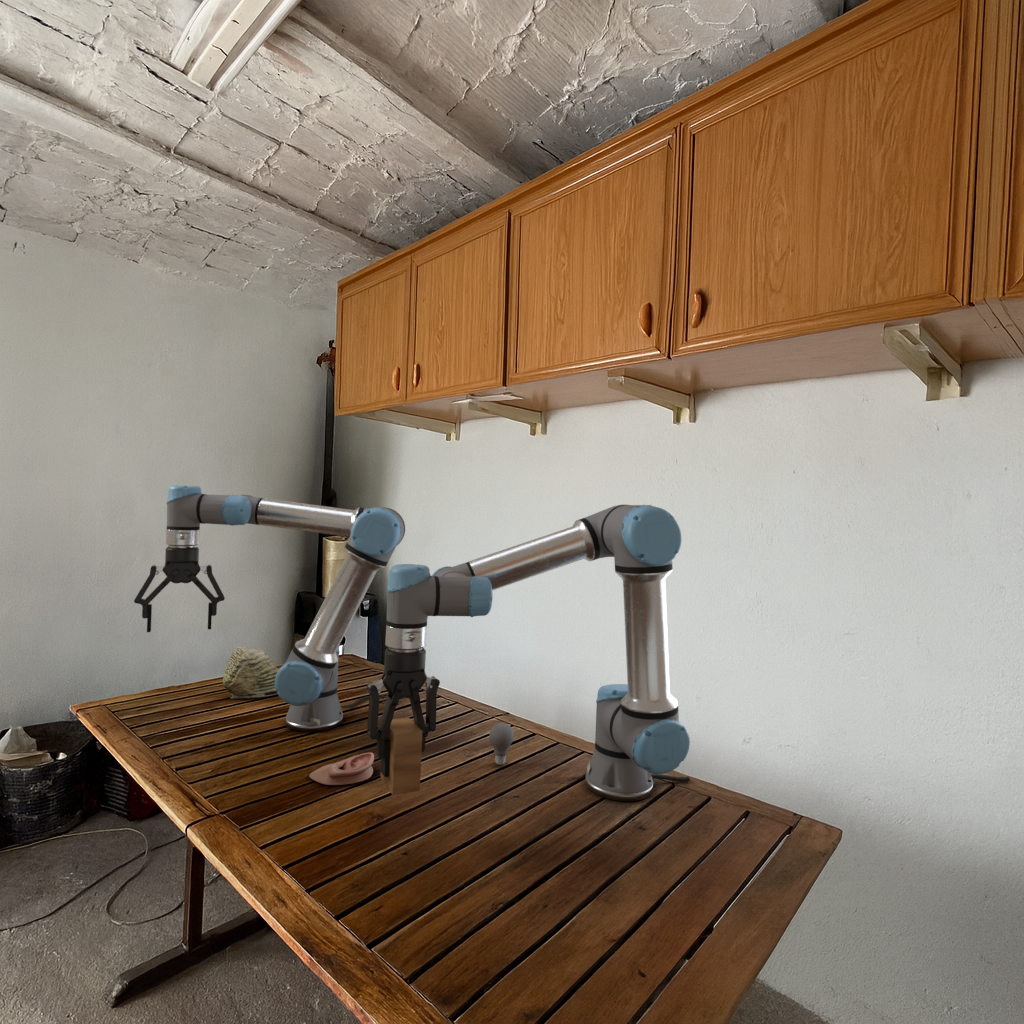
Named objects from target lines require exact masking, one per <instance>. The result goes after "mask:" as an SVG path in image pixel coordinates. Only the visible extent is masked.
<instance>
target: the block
mask: <svg viewBox="0 0 1024 1024" xmlns="http://www.w3.org/2000/svg"><path fill="white" fill-rule="evenodd" d="M387 738H388V739H389V740H390V760H389V777H384V776H383V774H382V773H381V772H380V779H381V781H382V782H383V783H384V785H385V786H386V788H387V789H388V791H389V793H390V794H391V795H392V796H397V795H402V794H407V793H408V794H409V793H413V792H419V791H421V772H422V753H423V752H422V730H421V729H420V728H419V727H418V726H417V725H416V724H415V721H414V720H412V719H411V718H410V717H399V718H392V722H391V725H390V728H389V732H388V735H387Z"/></svg>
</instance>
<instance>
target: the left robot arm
mask: <svg viewBox="0 0 1024 1024" xmlns="http://www.w3.org/2000/svg"><path fill="white" fill-rule="evenodd" d="M201 524H202V525H205V524H206V525H208V524H209V525H222V526H225V525H226V526H227V525H228V526H233V527H234V526H245V525H246V524H248V525H255V526H265V527H273V528H279V529H287V530H294V531H301V532H308V533H309V532H310V533H317V534H324V535H332V536H340V537H345V538H348V540H347V541H346V543H345V545H344V552H345V554H346V557H345V558H344V560H343V562H342V564H341V566H340V568H339V570H338V571H337V574H336V576H335V578H334V580H333V582H332V584H331V586H330V588H329V590H328V592H327V594H326V596H325V598H324V600H323V602H322V604H321V605H320V608H319V610H318V612H317V614H316V615H315V617H314V619H313V621H312V623H311V625H310V627H309V629H308V631H307V633H306V634H305V637H304V638H303V639H300V640H296V642H295V643H294V645H293V647H292V649H291V651H290V652H289V655H288V657H287V659H286V661H285V663H284V664H282V665H281V666H280V667H279V668H278V669H279V670H278V672H277V675H276V677H275V689H276V691H277V693H278V694H277V695H278V697H279V698H280V699H281V700H282V701H283V702H285V703H286V704H289V708H288V711H287V713H286V715H285V726H286V728H287V729H289V730H291V731H294V732H295V731H296V732H301V733H316V732H325V731H329V730H332V729H335V728H337V727H339V726H340V725H342V723H343V722H344V713H343V709H349V708H352V707H354V706H356V705H357V704H359V702H362V701H364V700H367V699H368V700H369V696H370V695H367V696H363V697H361V698H359V699H357V700H355V702H353V703H351V704H345V705H341V702H340V699H339V695H338V682H339V681H338V680H339V678H338V677H339V660H340V659H339V657H340V645H341V642H342V641H343V638H344V637H345V634H346V633H347V630H348V629H349V627H350V625H351V623H352V621H353V619H354V617H355V615H356V613H357V611H358V609H359V608H360V606H361V604H362V602H363V599H364V598H365V595H366V593H367V591H368V590H369V588H370V586H371V584H372V582H373V580H374V578H375V576H376V574H377V572H378V571H379V570H381V569H385V568H386V567H387V565H388V563H389V562H390V559H391V558H392V555H394V552H395V549H396V548H397V547H398V545H399V544H400V543H401V542H402V541H403V539H404V537H405V534H406V523H405V520H404V518H403V516H402V515H401V514H400V513H398V511H397V510H395V509H392V508H389V507H384V506H383V507H380V506H379V507H378V506H377V507H362V506H361V507H360V506H359V507H357V508H356V509H348V508H341V507H336V506H335V507H333V506H326V505H319V504H311V503H304V502H297V501H289V500H283V499H274V498H268V497H259V496H253V495H250V494H239V495H238V494H207V493H202V488H201V487H200V486H197V485H180V484H179V485H175V484H173V485H170V486H169V487H168V490H167V499H166V530H165V534H166V535H165V545H167V547H165V557H164V565H163V566H161V565H160V566H159V565H156V564H152V565H151V567H150V569H149V575H148V576H147V578H146V580H145V582H144V583H143V585H142V586H141V588H140V589H139V591H138V593H137V595H136V596H135V598H134V600H133V602H134V604H137V605H140V606H141V610H142V611H141V617H142V619H147V620H146V622H147V623H146V633H151V632H152V616H153V615H152V613H153V612H152V611H153V604H152V603H151V602H152V601H153V600H154V599H155V598H156V597H157V596H158V595H159V593H161V592H162V591H163V590H164V589H165V588H166V587H167V586H168V585H169V584H170V583H172V584H189V583H191V582H192V583H193V584H194V585H195V586H196V587H197V588H198V589H199V590H200V591H201V593H202V594H204V596H205V597H206V598H207V599H208V600H209V602H208V604H207V605H208V609H207V630H212V617H216V616H217V610H218V603H220V602H223V601H225V599H226V597H225V595H224V592H223V591H222V589H221V587H220V585H219V584H218V582H217V580H216V578H215V576H214V574H213V567H212V565H211V564H207V565H201V566H200V563H199V559H200V548H199V547H197V546H198V545H200V535H201V532H200V531H201V529H200V528H201ZM160 572H162V573H163V574H164V575H165V576H166V577H165V578H164V579H163V580H162V581H161V582H160V583H159V584H158V586H156V587H155V588H154V589H153V591H151V592H150V594H148V596H146V597H145V598H144V595H145V594H146V592H147V591H148V589H149V587H150V586H151V584H152V582H153V581H154V579H155V576H157V575H160ZM200 572H202V573H203V574H204V575H207V578H208V580H209V582H210V583H211V585H212V588H213V589H214V592H215V594H216V595H217V596H215V595H214V594H213V593H212V592H211V591H210V590H209V589H208V588H207V587H206V586H205V585H204V583H203V582H202V581H201V580H200V578H198V577H197V575H198V574H199V573H200ZM387 694H388V693H383V694H379V698H383V697H384V698H385V697H387Z"/></svg>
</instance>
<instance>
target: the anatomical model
mask: <svg viewBox="0 0 1024 1024" xmlns="http://www.w3.org/2000/svg"><path fill="white" fill-rule="evenodd" d="M374 761H375V754H374V753H373V752H370V751H369V752H365V753H360V754H357V755H353V756H351V757H347V758H345V759H343V760H340V761H337V762H334V763H329V764H326V765H323V766H321V767H319V768H317V769H315V770H313V771H312V772H311V773H310V774H309V775H308V776H309V778H310V779H311V780H313V781H315V782H317V783H319V784H321V785H325V786H339V785H340V786H341V785H350V784H351V785H352V784H357V783H359V782H363V781H365V780H369V778H371V777H372V775H373V774H374V768H373V764H374Z"/></svg>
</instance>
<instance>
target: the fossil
mask: <svg viewBox="0 0 1024 1024" xmlns="http://www.w3.org/2000/svg"><path fill="white" fill-rule="evenodd" d="M279 669H280V668H278V667H277V665H276V663H275V662H274V660H273V659H272V658H271V657H270V656H269V655H268V654H267V653H266V652H265V650H264V649H263V648H260V647H258V648H251V647H247V646H246V647H245V646H238V647H237V648H236V649H235V650H233V651H232V653H231V656H230V657H229V659H228V660H227V663H226V666H225V668H224V671H223V675H222V676H223V677H222V685H223V687H224V688H225V690H226V691H228V693H229V698H230V699H250V698H264V697H271V696H275V695H278V693H277V691H276V689H275V677H276V675H277V672H278V670H279Z"/></svg>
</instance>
